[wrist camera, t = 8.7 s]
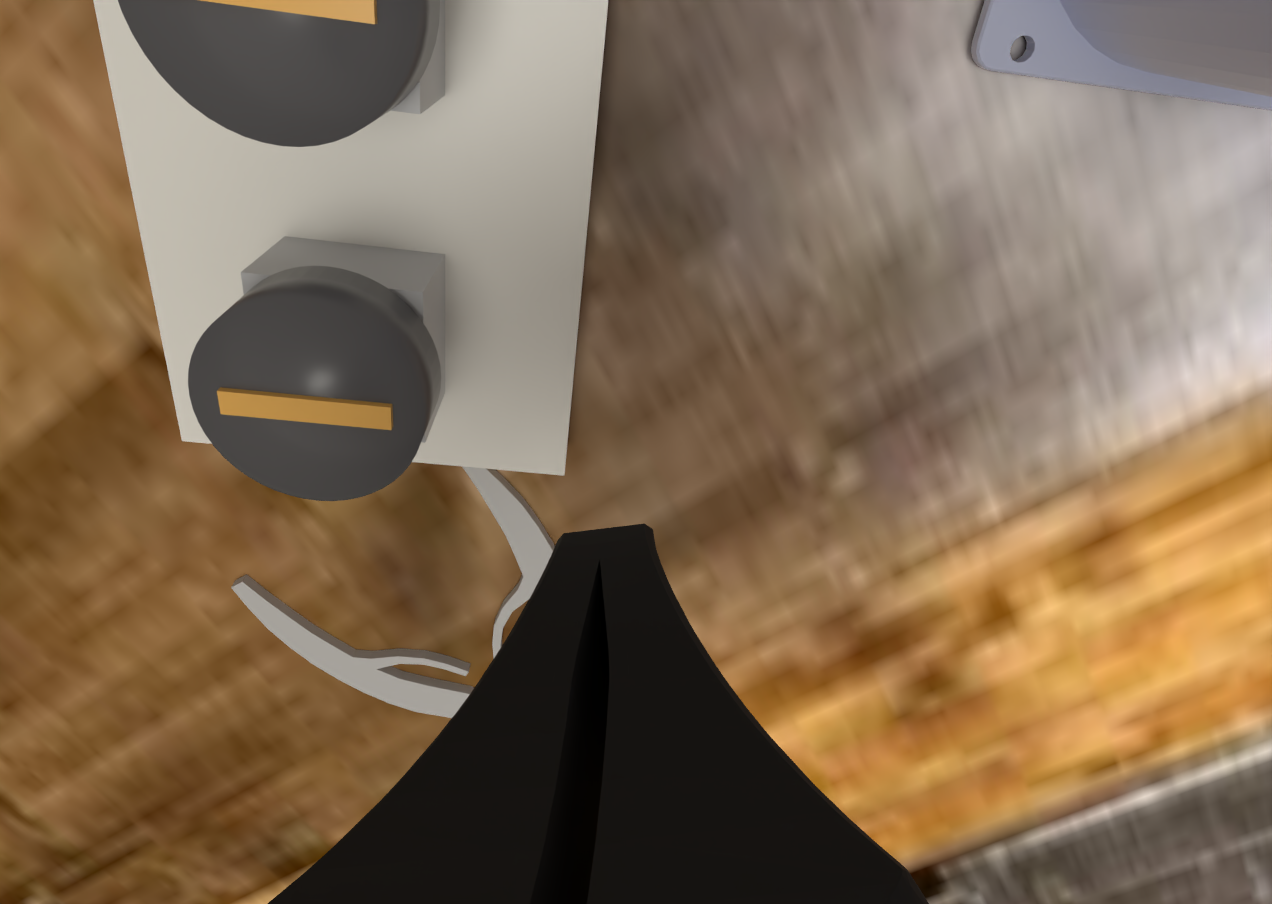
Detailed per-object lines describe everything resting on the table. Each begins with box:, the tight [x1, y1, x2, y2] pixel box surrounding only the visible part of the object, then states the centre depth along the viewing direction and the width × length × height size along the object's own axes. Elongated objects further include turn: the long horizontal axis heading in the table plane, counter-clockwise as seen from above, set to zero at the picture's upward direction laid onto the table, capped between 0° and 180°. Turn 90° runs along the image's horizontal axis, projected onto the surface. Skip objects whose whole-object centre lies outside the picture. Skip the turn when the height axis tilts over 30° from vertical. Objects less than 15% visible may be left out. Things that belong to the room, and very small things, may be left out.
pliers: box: [231, 466, 555, 718], centre depth 27 cm, size 10×2×15 cm
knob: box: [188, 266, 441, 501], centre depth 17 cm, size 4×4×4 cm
